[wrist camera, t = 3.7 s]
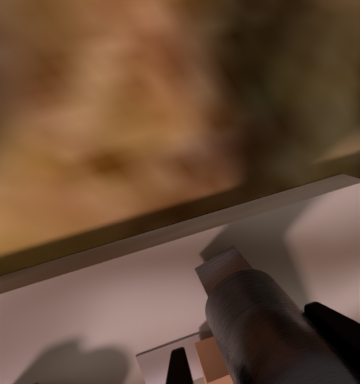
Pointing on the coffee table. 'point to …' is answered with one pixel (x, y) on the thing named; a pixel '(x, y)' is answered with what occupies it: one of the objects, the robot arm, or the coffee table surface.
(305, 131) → the coffee table surface
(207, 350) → the terracotta cube
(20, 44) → the coffee table surface
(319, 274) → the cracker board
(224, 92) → the coffee table surface
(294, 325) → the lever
